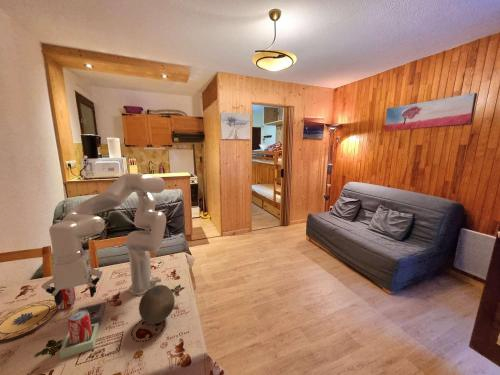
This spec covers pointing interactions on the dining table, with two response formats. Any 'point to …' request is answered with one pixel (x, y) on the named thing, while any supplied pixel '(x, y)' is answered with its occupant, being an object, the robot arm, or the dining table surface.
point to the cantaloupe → (156, 304)
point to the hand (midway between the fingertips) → (77, 298)
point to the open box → (90, 344)
